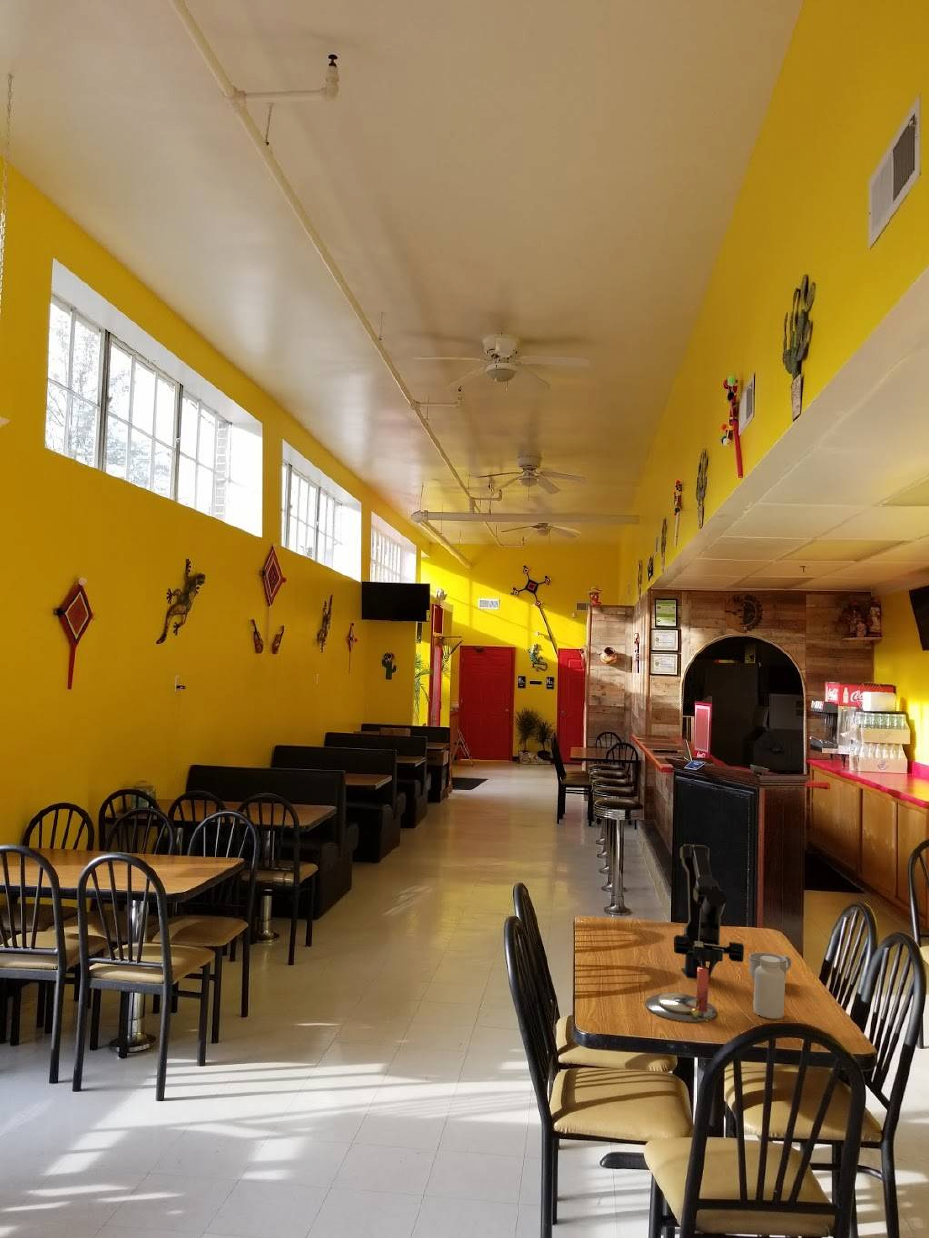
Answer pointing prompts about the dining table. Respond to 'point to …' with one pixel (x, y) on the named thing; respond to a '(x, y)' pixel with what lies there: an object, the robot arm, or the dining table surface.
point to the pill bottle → (769, 988)
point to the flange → (689, 997)
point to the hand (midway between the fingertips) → (707, 976)
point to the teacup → (756, 956)
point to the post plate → (658, 1010)
